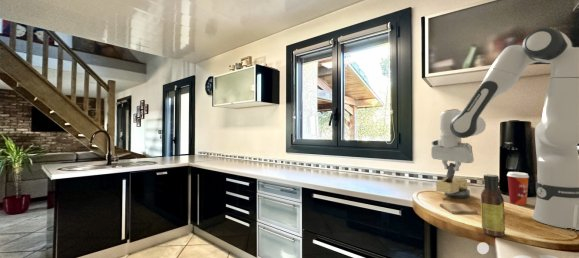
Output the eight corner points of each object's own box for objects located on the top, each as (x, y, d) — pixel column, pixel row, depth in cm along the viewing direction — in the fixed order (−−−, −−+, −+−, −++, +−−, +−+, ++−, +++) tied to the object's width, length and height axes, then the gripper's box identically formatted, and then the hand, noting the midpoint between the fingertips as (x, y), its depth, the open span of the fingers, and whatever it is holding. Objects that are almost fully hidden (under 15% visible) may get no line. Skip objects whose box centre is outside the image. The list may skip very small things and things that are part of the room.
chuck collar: (452, 185, 137) (452, 176, 137) (471, 189, 129) (470, 179, 129) (434, 190, 130) (434, 180, 130) (452, 194, 122) (452, 183, 122)
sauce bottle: (509, 238, 82) (508, 177, 82) (488, 237, 84) (487, 177, 83) (497, 229, 89) (496, 173, 89) (477, 228, 90) (476, 173, 90)
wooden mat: (462, 205, 115) (462, 203, 115) (477, 213, 105) (477, 211, 105) (439, 205, 115) (439, 203, 115) (452, 213, 105) (452, 211, 105)
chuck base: (461, 192, 136) (461, 186, 136) (475, 198, 125) (474, 192, 125) (440, 192, 137) (440, 186, 137) (451, 198, 126) (451, 192, 126)
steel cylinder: (448, 181, 129) (453, 163, 127) (453, 183, 126) (458, 165, 124) (443, 181, 128) (448, 162, 126) (448, 183, 125) (453, 165, 123)
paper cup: (525, 207, 110) (525, 175, 110) (504, 202, 117) (503, 172, 117) (532, 204, 114) (532, 173, 114) (511, 200, 121) (510, 170, 121)
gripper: (476, 142, 116) (477, 172, 116) (437, 141, 136) (438, 166, 136) (466, 143, 114) (467, 174, 115) (428, 141, 134) (429, 167, 134)
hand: (451, 170), depth 125 cm, fingers closed on steel cylinder, 3 cm apart
